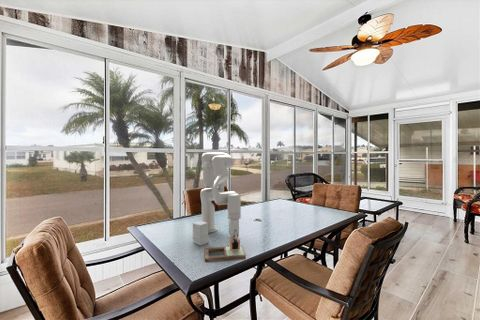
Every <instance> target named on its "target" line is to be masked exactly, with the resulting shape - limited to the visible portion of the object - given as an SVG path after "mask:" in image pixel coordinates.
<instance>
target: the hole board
mask: <svg viewBox="0 0 480 320" xmlns="http://www.w3.org/2000/svg"><path fill="white" fill-rule="evenodd" d="M246 258H247V257H246V252H245V250H244V247H243V245H241V244H240V250H230V247H229V245H225V246H213V247H205V248H204V262H205V263H206V262H215V261H216V262H217V261H227V260H228V261H229V260H243V259H246Z"/></svg>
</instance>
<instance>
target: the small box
mask: <svg viewBox="0 0 480 320" xmlns="http://www.w3.org/2000/svg"><path fill="white" fill-rule="evenodd" d="M192 243H194V244H196V245H197V246H201V247H202V246H204V245H206V244H209V233H208V223H206V222H203V221H202V220H199V221H194V222H192Z"/></svg>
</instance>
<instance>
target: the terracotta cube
mask: <svg viewBox="0 0 480 320" xmlns="http://www.w3.org/2000/svg"><path fill="white" fill-rule="evenodd" d="M228 239H229V240H228V243H229V245H228V246H229V247H230V250H240V245H241V239H240V236H239V237H238V249H232V242H233V237H230V236H229V237H228ZM234 239H235V238H234Z"/></svg>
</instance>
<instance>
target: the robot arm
mask: <svg viewBox="0 0 480 320" xmlns="http://www.w3.org/2000/svg"><path fill="white" fill-rule="evenodd" d="M201 164H202V168H203V170H202V184H203V187H205V188H203V189H201V190H200V193H199V194H200V197H199V198H200V202H201V221H203V222H206V223H208V234H212V233H215V232H217V230H218V228H217V226H216V217H215V216H216V215H215V213H216V212H215V211H216V210H215V205H214V204H213V203H212V201H214V203H215V204H216V205H218V206H222V205H227V207H226V208H227V219H228V234H229V237H233V242H232V249H238V237H239V238H240V219H242V215H241V214H242V212H241V210H242V208H241V207H242V206H241V199H242V198H241V197H242V196H241V195H240V193H237V192H236V191H235V190H229V191H228V190H227V191H225V181H228V179H229V178H230V173H229V170H228V169H230V168H231V169H232V168H233V167H234V164H235V161H234V158H233V157H232V156H231V155H230V154H228V153H226V152H212V151H211V152H205V153H204V152H203V154H202V155H201ZM234 238H235V239H234Z"/></svg>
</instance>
